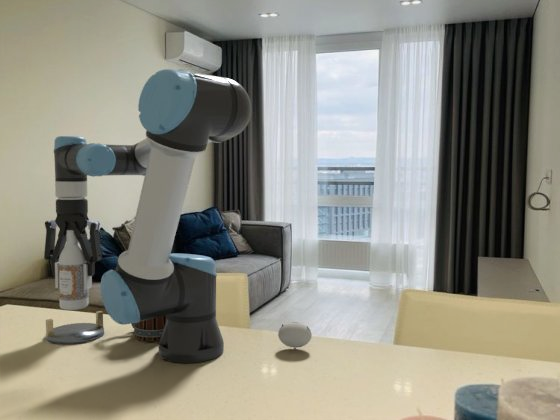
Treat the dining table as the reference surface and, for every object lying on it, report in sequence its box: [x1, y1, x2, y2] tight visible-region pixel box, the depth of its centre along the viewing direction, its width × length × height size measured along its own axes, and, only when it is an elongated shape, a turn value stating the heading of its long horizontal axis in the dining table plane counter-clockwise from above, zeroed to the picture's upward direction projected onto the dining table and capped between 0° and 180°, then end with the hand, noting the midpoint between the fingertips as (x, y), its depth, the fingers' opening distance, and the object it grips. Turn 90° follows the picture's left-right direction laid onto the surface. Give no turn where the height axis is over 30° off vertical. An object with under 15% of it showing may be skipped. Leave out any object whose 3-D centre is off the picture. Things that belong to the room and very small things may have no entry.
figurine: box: [277, 321, 313, 351], centre depth 126 cm, size 8×6×7 cm
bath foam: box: [58, 230, 90, 311], centre depth 134 cm, size 7×7×20 cm
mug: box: [130, 315, 166, 343], centre depth 137 cm, size 16×11×15 cm
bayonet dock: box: [45, 310, 105, 346], centre depth 136 cm, size 14×14×5 cm
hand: (73, 287), depth 135 cm, fingers closed on bath foam, 7 cm apart
